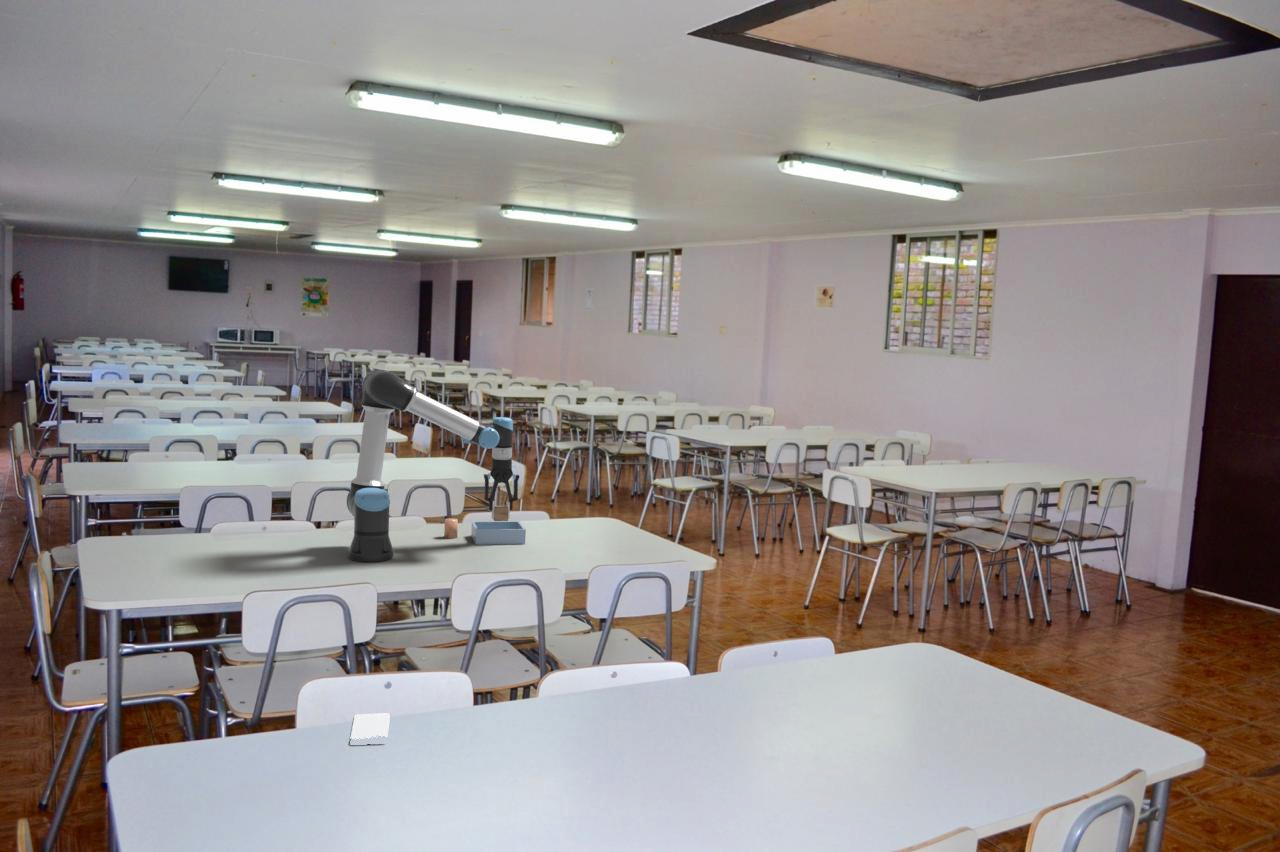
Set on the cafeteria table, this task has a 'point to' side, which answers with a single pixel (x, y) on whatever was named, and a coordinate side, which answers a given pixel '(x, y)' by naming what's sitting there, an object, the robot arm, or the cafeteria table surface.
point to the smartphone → (370, 725)
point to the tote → (498, 532)
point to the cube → (501, 513)
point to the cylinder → (450, 528)
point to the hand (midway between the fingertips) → (500, 518)
